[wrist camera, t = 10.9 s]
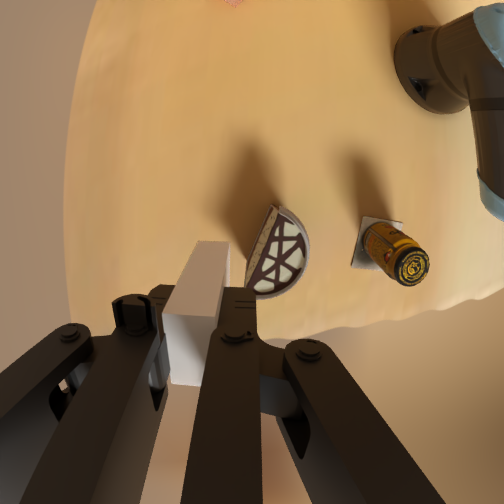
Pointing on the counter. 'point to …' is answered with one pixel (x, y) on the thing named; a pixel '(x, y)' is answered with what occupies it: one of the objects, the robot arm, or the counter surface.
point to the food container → (277, 254)
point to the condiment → (390, 252)
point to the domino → (234, 2)
